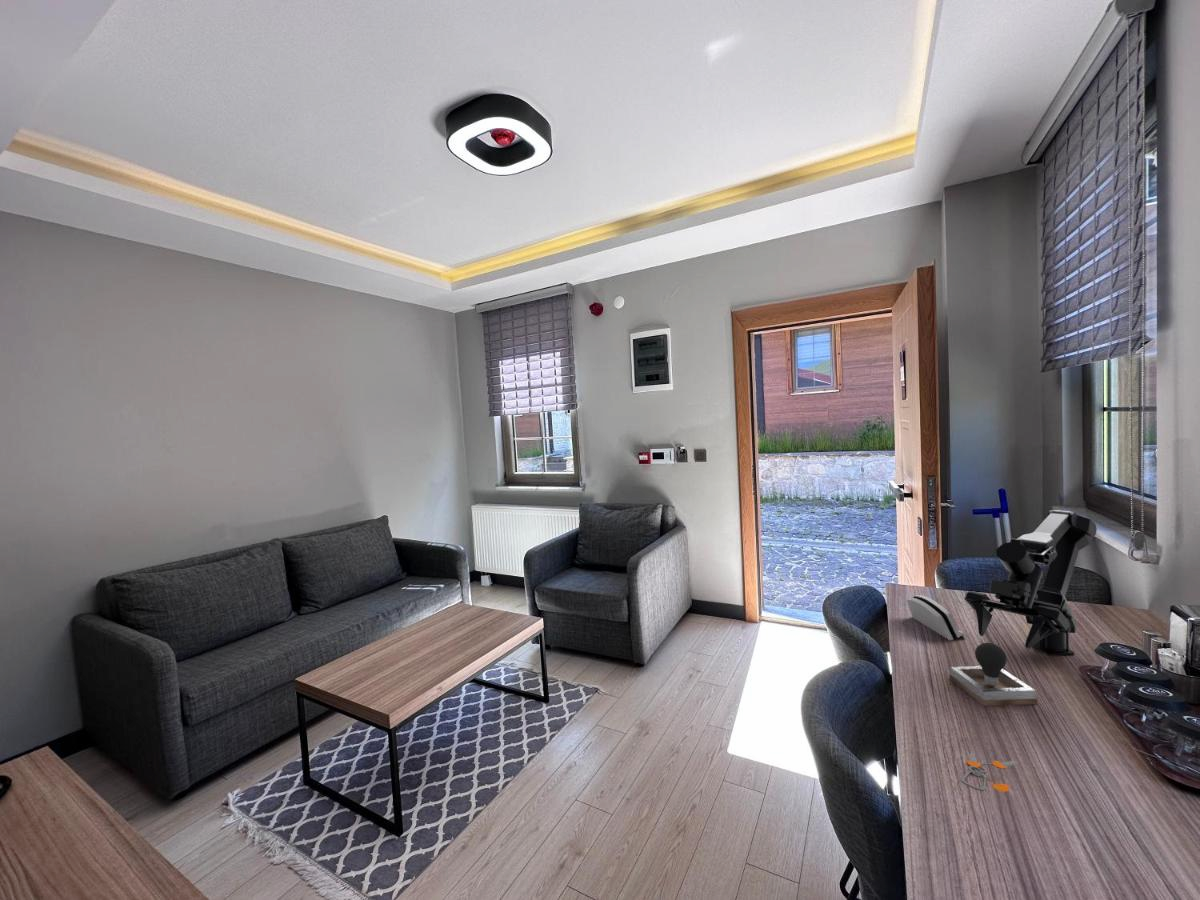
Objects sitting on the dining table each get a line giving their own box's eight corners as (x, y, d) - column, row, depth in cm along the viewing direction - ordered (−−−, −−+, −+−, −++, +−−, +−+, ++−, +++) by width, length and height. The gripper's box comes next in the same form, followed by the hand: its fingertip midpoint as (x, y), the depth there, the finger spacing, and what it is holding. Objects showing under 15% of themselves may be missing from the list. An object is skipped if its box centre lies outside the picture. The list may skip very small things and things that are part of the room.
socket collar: (997, 673, 116) (997, 665, 116) (1035, 699, 105) (1035, 690, 105) (950, 675, 117) (950, 667, 117) (983, 700, 106) (983, 691, 106)
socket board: (998, 677, 116) (997, 673, 116) (1037, 704, 105) (1037, 699, 105) (949, 678, 117) (949, 674, 117) (983, 705, 106) (983, 701, 106)
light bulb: (990, 694, 108) (988, 650, 108) (969, 680, 114) (968, 639, 113) (1014, 691, 108) (1013, 648, 108) (992, 678, 114) (991, 637, 113)
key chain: (1006, 804, 80) (1006, 799, 80) (953, 781, 86) (953, 776, 86) (1022, 765, 88) (1021, 760, 88) (972, 746, 94) (972, 742, 94)
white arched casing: (967, 639, 136) (954, 607, 135) (951, 646, 136) (938, 614, 135) (927, 616, 152) (916, 587, 152) (913, 621, 152) (901, 593, 152)
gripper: (964, 559, 124) (943, 613, 120) (1057, 573, 108) (1037, 636, 103) (984, 582, 128) (965, 635, 123) (1077, 599, 111) (1059, 661, 107)
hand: (1002, 641), depth 114 cm, fingers open, 9 cm apart
